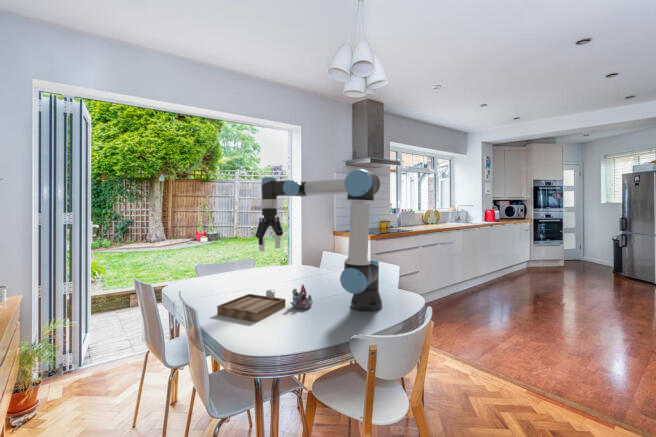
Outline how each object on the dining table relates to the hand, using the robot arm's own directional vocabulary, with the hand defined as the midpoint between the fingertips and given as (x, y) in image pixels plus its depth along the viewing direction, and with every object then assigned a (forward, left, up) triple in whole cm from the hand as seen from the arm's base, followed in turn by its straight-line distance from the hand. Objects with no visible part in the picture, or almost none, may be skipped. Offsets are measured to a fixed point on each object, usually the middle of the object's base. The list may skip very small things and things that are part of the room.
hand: (270, 249), depth 164 cm
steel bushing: (+1, -1, -27) cm, 27 cm away
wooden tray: (-1, +16, -27) cm, 31 cm away
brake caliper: (-19, +1, -27) cm, 33 cm away
